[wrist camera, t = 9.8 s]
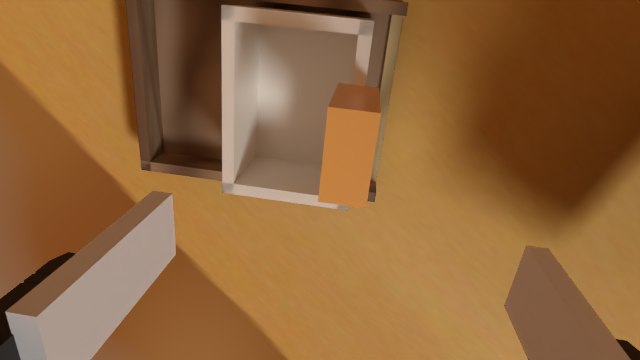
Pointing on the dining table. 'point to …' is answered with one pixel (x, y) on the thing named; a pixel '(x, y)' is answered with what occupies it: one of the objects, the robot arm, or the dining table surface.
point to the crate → (297, 106)
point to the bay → (206, 75)
